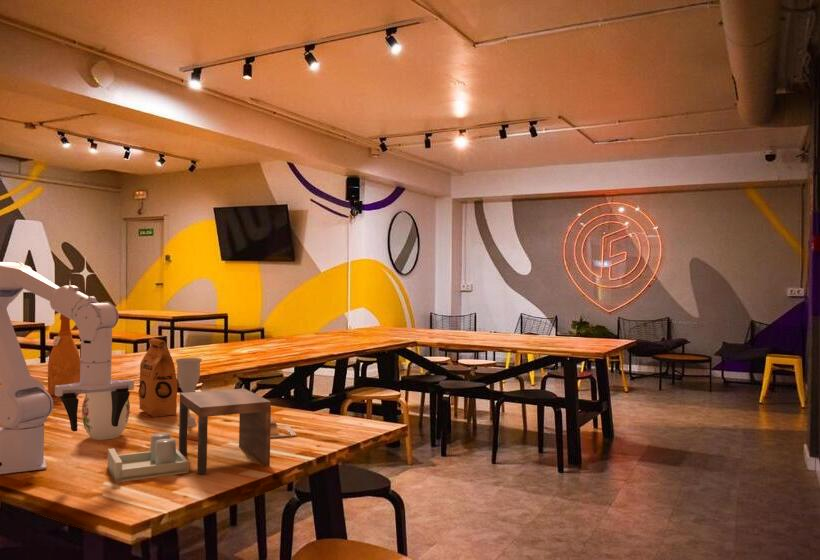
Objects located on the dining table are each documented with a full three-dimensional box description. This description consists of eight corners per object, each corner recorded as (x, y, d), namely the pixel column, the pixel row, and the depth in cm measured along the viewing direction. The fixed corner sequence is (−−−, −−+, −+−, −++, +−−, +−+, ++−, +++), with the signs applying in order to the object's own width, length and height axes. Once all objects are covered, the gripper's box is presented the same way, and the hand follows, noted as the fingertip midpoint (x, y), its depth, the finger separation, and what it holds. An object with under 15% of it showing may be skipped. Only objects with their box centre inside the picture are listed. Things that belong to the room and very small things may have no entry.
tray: (115, 483, 127) (115, 450, 127) (107, 467, 138) (108, 437, 138) (188, 473, 135) (189, 442, 135) (176, 459, 145) (176, 430, 145)
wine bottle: (51, 392, 224) (52, 305, 224) (82, 391, 226) (84, 305, 227) (44, 397, 214) (45, 306, 214) (77, 396, 217) (78, 306, 217)
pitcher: (121, 426, 175) (122, 375, 175) (135, 440, 160) (136, 385, 160) (76, 431, 169) (77, 378, 169) (86, 446, 154) (87, 388, 154)
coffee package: (145, 418, 185) (147, 341, 185) (135, 411, 195) (137, 338, 195) (181, 415, 190) (182, 340, 191) (169, 408, 201) (170, 337, 201)
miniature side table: (199, 475, 132) (200, 407, 132) (178, 453, 149) (179, 393, 149) (269, 466, 140) (270, 401, 140) (243, 446, 156) (244, 388, 157)
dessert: (244, 431, 174) (244, 413, 174) (288, 428, 178) (289, 411, 178) (249, 442, 163) (249, 423, 163) (297, 439, 167) (297, 420, 167)
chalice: (191, 428, 173) (193, 361, 174) (168, 427, 175) (170, 360, 175) (205, 423, 181) (206, 358, 181) (183, 421, 182) (184, 357, 182)
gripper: (60, 366, 125) (59, 436, 125) (139, 361, 134) (137, 427, 134) (53, 362, 130) (51, 429, 130) (128, 357, 139) (127, 420, 139)
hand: (94, 428), depth 132 cm, fingers open, 7 cm apart
